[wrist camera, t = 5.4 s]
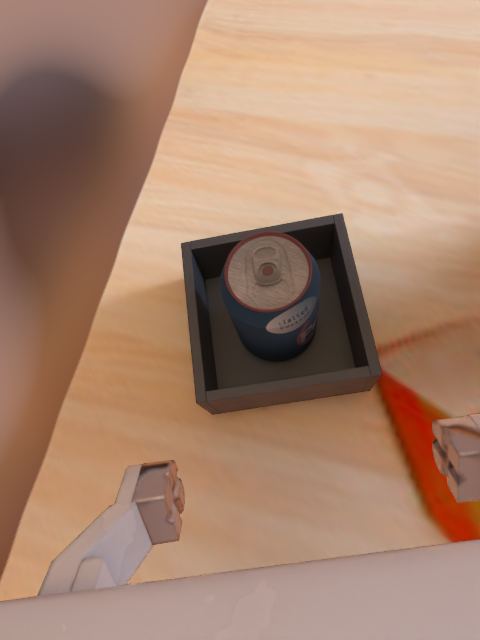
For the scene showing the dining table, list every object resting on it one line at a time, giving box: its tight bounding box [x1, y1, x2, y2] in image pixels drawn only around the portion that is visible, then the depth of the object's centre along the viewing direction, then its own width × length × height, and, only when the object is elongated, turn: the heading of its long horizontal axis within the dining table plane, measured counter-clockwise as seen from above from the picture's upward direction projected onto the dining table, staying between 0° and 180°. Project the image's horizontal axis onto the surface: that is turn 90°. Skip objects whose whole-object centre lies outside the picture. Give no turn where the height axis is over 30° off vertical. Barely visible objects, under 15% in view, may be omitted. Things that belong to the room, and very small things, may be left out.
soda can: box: [220, 231, 320, 361], centre depth 34 cm, size 7×7×12 cm
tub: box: [181, 214, 382, 415], centre depth 37 cm, size 14×14×6 cm
